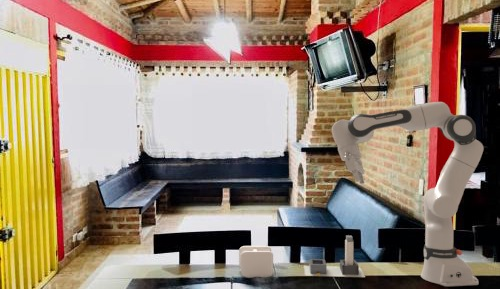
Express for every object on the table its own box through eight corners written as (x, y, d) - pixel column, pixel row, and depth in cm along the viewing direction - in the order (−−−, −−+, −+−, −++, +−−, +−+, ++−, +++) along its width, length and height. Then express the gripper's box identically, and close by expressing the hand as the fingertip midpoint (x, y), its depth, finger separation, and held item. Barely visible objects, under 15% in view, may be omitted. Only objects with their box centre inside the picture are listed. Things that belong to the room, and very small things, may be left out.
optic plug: (351, 270, 187) (351, 235, 186) (353, 273, 183) (353, 237, 182) (345, 269, 187) (345, 235, 187) (346, 273, 183) (346, 237, 183)
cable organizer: (239, 278, 180) (239, 252, 180) (239, 269, 191) (239, 245, 190) (273, 277, 181) (273, 251, 180) (271, 269, 191) (271, 244, 191)
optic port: (324, 267, 190) (324, 259, 190) (326, 274, 182) (326, 265, 182) (309, 267, 191) (309, 259, 190) (310, 273, 183) (310, 264, 182)
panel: (359, 269, 191) (359, 258, 191) (365, 279, 178) (365, 268, 178) (303, 267, 193) (303, 257, 193) (305, 277, 180) (305, 266, 180)
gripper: (351, 147, 176) (363, 177, 171) (360, 154, 194) (371, 182, 190) (337, 152, 178) (348, 182, 174) (348, 159, 196) (358, 187, 192)
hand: (360, 182), depth 182 cm, fingers open, 8 cm apart
